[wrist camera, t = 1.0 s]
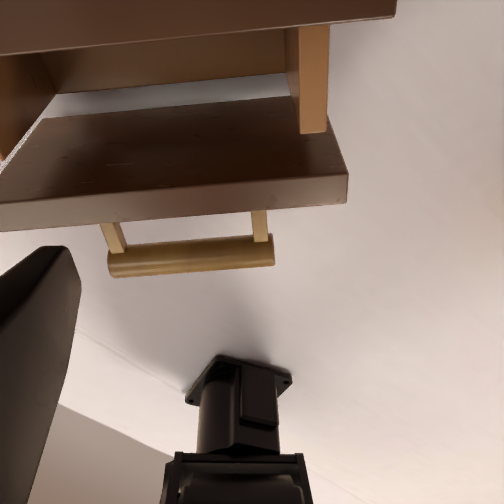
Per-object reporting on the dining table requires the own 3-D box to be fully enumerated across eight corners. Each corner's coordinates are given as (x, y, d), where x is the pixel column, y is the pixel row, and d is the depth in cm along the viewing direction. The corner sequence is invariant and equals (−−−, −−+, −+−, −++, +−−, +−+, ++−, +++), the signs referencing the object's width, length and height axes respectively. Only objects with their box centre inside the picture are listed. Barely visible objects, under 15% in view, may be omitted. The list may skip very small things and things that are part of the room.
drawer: (318, 203, 22) (340, 297, 17) (86, 222, 23) (45, 319, 18) (329, -427, 10) (410, -680, 5) (-160, -361, 11) (-483, -542, 6)
